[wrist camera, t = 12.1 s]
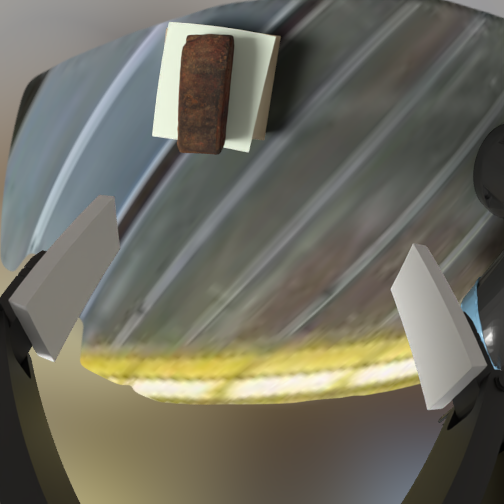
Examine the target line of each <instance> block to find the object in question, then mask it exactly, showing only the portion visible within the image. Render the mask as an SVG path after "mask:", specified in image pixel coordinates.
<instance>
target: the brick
mask: <svg viewBox="0 0 504 504" xmlns="http://www.w3.org/2000/svg"><path fill="white" fill-rule="evenodd" d="M234 46H235V45H234V37H233V36H232V35H224V34H223V35H221V34H204V35H197V34H196V35H187V38H186V44H185V45H184V46H183V48H182V53H181V67H180V80H179V99H178V127H177V131H178V142H177V145H178V149H179V151H180V152H182V153H203V154H219V153H220V152H221V150H222V148H223V147H224V144H225V139H226V125H227V117H228V106H229V98H230V85H231V75H232V66H233V56H234Z"/></svg>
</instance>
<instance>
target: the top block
mask: <svg viewBox="0 0 504 504" xmlns="http://www.w3.org/2000/svg"><path fill="white" fill-rule="evenodd" d="M196 34H197V35H204V34H221V35H223V34H224V35H232V36H233V37H234V45H235V46H234V56H233V66H232V75H231V85H230V98H229V106H228V117H227V125H226V139H225V144H224V148H229V149H234V150H239V151H244V152H249V148H250V144H251V140H252V135H253V131H254V126H255V122H256V118H257V113H258V109H259V105H260V100H261V96H262V92H263V88H264V83H265V79H266V75H267V71H268V67H269V63H270V59H271V55H272V50H273V46H274V42H275V38H276V37H275V36H270V35H266V34H261V33H255V32H250V31H244V30H238V29H232V28H225V27H217V26H209V25H199V24H188V23H174V22H169V25H168V30H167V36H166V41H165V46H164V52H163V58H162V64H161V71H160V77H159V84H158V91H157V99H156V107H155V116H154V125H153V135H152V136H156V137H163V138H170V139H177V140H178V131H177V127H178V99H179V80H180V67H181V53H182V48H183V46H184V45H185V44H186V38H187V35H196Z"/></svg>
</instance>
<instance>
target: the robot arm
mask: <svg viewBox="0 0 504 504" xmlns="http://www.w3.org/2000/svg"><path fill="white" fill-rule="evenodd" d="M474 187H475V191H476V194H477V196H478V198H479V200H480V202H481V203H482V204H483V205H484V206H485V207H486V208H487V209H488V210H489V211H490V212H491V213H493V214H494V215H496V216H499V217H501V218H504V124H503V125H500V126H498V127H497V128H495V129H494V130H493V131H492V132H491V133H490V134H489V135H488V136H487V137H486V139H485V140H484V142H483V143H482V145H481V147H480V149H479V152H478V154H477V157H476V161H475V166H474ZM119 250H120V244H119V237H118V228H117V219H116V209H115V198H114V196H104V195H99V196H98V197H97V198H96V199H95V200H94V201H93V202H92V203H91V204H90V205H89V206H88V207H87V208H86V209H85V210H84V211H83V212H82V213H81V214H80V215H79V216H78V217H77V218H76V219H75V220H74V222H73V223H72V224H71V225H70V226H69V227H68V228H67V229H66V230H65V231H64V232H63V234H62V235H61V236H60V237H59V238H58V239H57V240H56V241H55V243H54V244H53V245H52V246H51V247H50V248H49V249H48V251H43V250H42V251H41V252H39V253H38V254H36V255H35V256H33V257H32V258H31V259H30V261H29V262H28V263H27V264H26V265H25V266H24V269H22V270H21V271H20V272H19V274H18V276H16V277H15V279H14V280H13V281H12V282H11V284H10V285H9V286H8V288H7V289H6V290H5V292H4V293H3V294H2V296H1V297H0V504H80V502H79V500H78V498H77V496H76V494H75V492H74V489H73V487H72V485H71V483H70V481H69V478H68V476H67V474H66V471H65V469H64V467H63V465H62V462H61V460H60V457H59V454H58V452H57V449H56V446H55V443H54V440H53V438H52V435H51V432H50V429H49V426H48V423H47V419H46V416H45V413H44V410H43V406H42V402H41V399H40V395H39V391H38V387H37V383H36V379H35V375H34V370H33V365H32V360H31V357H30V355H29V353H28V352H29V350H30V349H31V347H32V346H33V348H34V350H35V351H36V353H37V355H38V356H40V357H43V358H45V359H48V360H50V361H53V362H55V360H56V358H57V356H58V354H59V352H60V350H61V349H62V347H63V345H64V343H65V341H66V339H67V337H68V335H69V333H70V331H71V330H72V328H73V326H74V324H75V322H76V321H77V318H78V317H79V315H80V314H81V312H82V310H83V308H84V307H85V305H86V303H87V301H88V300H89V298H90V296H91V295H92V293H93V291H94V290H95V288H96V286H97V285H98V283H99V281H100V280H101V278H102V276H103V275H104V273H105V272H106V270H107V268H108V267H109V265H110V264H111V262H112V261H113V259H114V257H115V256H116V254H117V253H118V251H119ZM391 292H392V294H393V297H394V300H395V303H396V306H397V308H398V311H399V314H400V317H401V320H402V323H403V326H404V329H405V332H406V335H407V338H408V341H409V345H410V348H411V351H412V354H413V358H414V361H415V364H416V368H417V371H418V375H419V379H420V382H421V386H422V390H423V393H424V397H425V401H426V405H427V409H428V410H433V409H442V408H444V407H445V406H446V405H447V404H448V403H449V402H451V401H452V400H453V404H454V407H453V408H452V409H451V410H449V411H448V412H447V413H446V414H445V415H443V416H442V417H441V418H440V419H439V421H438V422H439V423H440V422H442V421H443V420H444V419H446V420H445V423H444V424H443V427H442V429H441V432H440V434H439V436H438V438H437V440H436V442H435V444H434V447H433V449H432V450H431V453H430V454H429V457H428V458H427V460H426V463H425V464H424V466H423V468H422V470H421V471H420V473H419V475H418V477H417V478H416V480H415V482H414V484H413V485H412V487H411V489H410V491H409V492H408V494H407V495H406V497H405V498H404V500H403V502H402V503H401V504H504V251H503V252H502V253H501V254H500V256H499V257H498V258H497V259H496V260H495V262H494V263H493V264H492V265H491V266H490V268H489V269H488V270H487V271H486V272H485V273H484V274H483V276H482V277H479V278H478V279H477V281H476V283H475V285H474V286H473V287H472V289H471V290H470V291H469V292H468V293H467V295H466V296H465V297H464V299H463V301H462V303H461V307H460V305H459V303H458V301H457V299H456V297H455V295H454V293H453V291H452V290H451V288H450V286H449V284H448V282H447V280H446V279H445V277H444V275H443V273H442V271H441V270H440V268H439V266H438V264H437V263H436V261H435V259H434V258H433V256H432V254H431V253H430V251H429V249H428V248H427V246H424V245H419V244H414V243H413V245H412V247H411V249H410V251H409V253H408V255H407V257H406V260H405V262H404V264H403V266H402V268H401V270H400V272H399V274H398V276H397V278H396V280H395V282H394V284H393V286H392V287H391ZM500 369H501V370H500Z"/></svg>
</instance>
